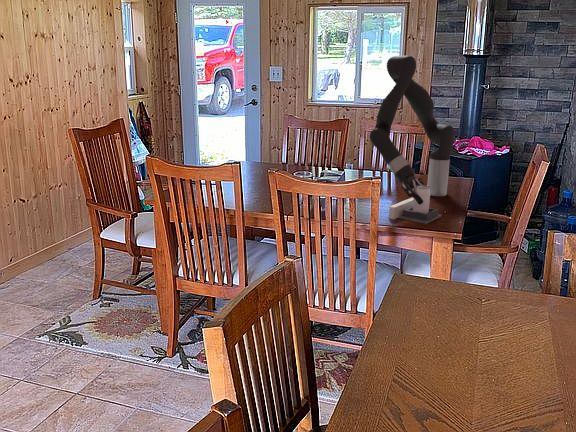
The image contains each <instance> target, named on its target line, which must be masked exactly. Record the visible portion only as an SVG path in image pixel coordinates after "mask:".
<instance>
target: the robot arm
mask: <svg viewBox="0 0 576 432" xmlns="http://www.w3.org/2000/svg"><path fill="white" fill-rule="evenodd" d="M386 70H387V74H388V75H389V76H390V78H391V79H392V80H393V82H394V83H395V84H394V86H393V87H392V89H391V90H390V91H389V93H387V95H386V96H385V98H384V99H383V100H382V102H381V103H380V106H379V110H378V113H377V116H376V123H375V126H374V128H373V129H372V130H371V131H370V133H369V140H370V142H371V144H372V145H373V146H374V147H375V149H376V150H377V151H378V152H379V153H380V155H381V157H382V159H383V160H384V162H385V163H386V165H387V166H388V168H389V170H390V171H391V172H392V174H393V175H394V176H395V178H396V179H397V181H398V182H399V183H400V184H401V186H400V187H401V188H402V190H403V191H404V192H405V194H406V195H407V196H408V197H409V198H412V197H413V198H414V199H415V200H416V201H417V203H418V204H419V205H420V204H422V203H423V200H422V198H421V197H420V196H419V195H418V193H417V191H416V190H417V188H416V187H417V185H426V183H425V182H424V180H423V179H422V178H421V176H419V177H418V178H417V177H416V176H415V175H416V171H415V170H414V168H413V167H412V165H411V164H410V163H409V161H408V160H407V159H406V158H405V157H404V155H402V153H401V151H400V150H399V149H398V148H397V147H396V146H395V144H394V142H393V141H392V140H391V138H390V134H391V129H392V125H393V122H394V120H395V117H396V114H397V112H398V111H397V110H398V108H399V105H400V103H401V101H402V98H403V96H404V97H405V98H406V101H407V102H408V104H409V106H410V107H411V109H412V111H413V112H414V113H415V115H416V117H417V119H418V120H419V122H420V124H421V125H422V127H423V129H424V132H425V134H426V136H427V138H428V139H429V141H430V142H431V143H432V144H433V143H434V144H438V148H437V149H436V150H433V151H431V152H430V153H429V162H428V163H429V164H428V171H427V172H428V174H427V175H428V176H427V185H426V186H429V187H430V188H429V189H430V200H432V198H431V196H433V197H445V196H447V193H448V182H449V173H450V162H451V156H452V153H453V147H454V141H455V129H454V127H453V126H452V125H451V124H450V125H449V124H445V123H439V122H438V121H437V120H436V117H435V116H434V110H435V103H434V100H433V98H432V97H431V95H430V93H429V92H428V90H426V88H425V87H423V86H422V85H420V84H419V83H418V82H416V81H415V80H414V79H413V77H414V75H415V73H416V70H417V61H416V59H415V58H414V57H413V56H411V55H395V56H391V57H390V58H389V59H387V61H386Z"/></svg>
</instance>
